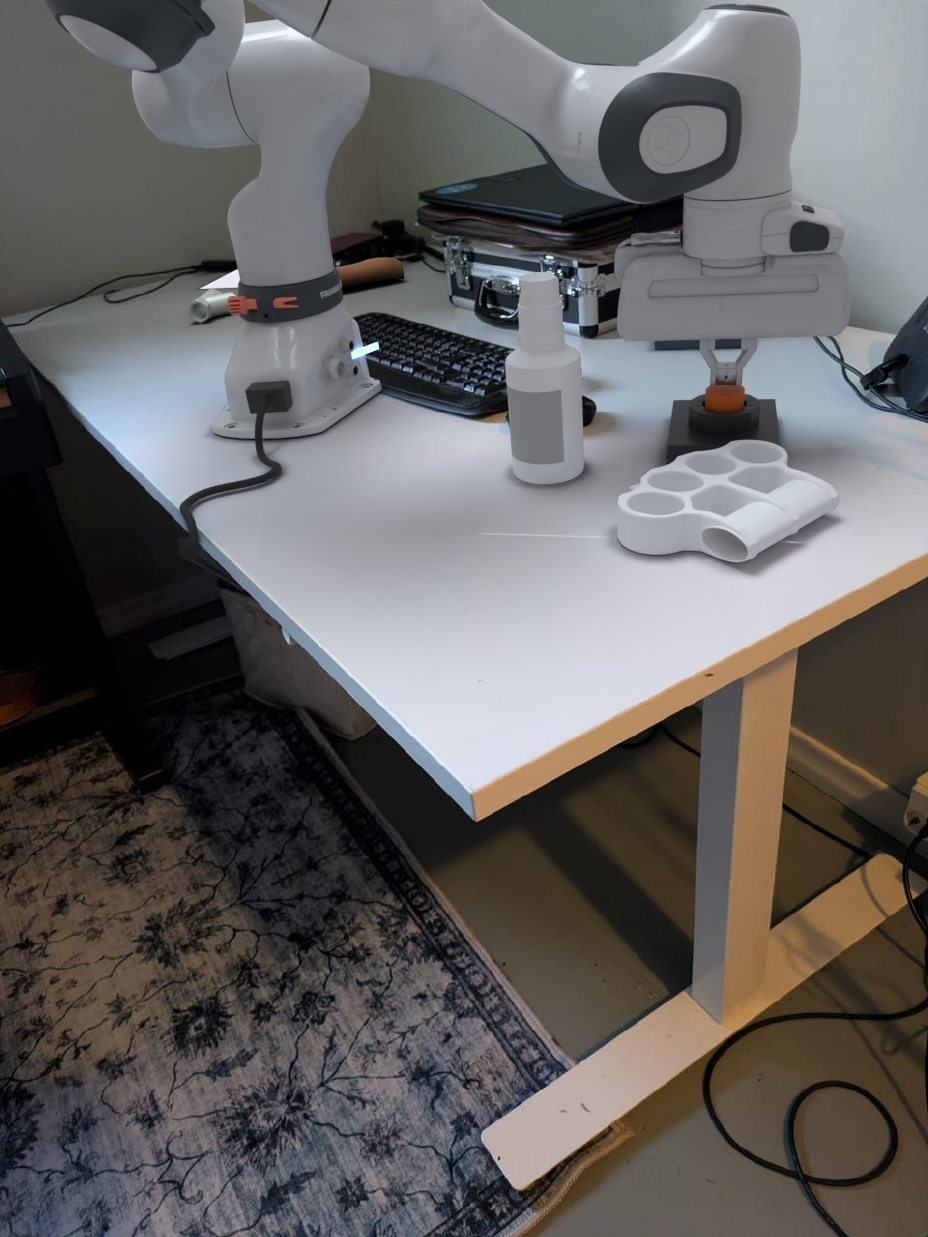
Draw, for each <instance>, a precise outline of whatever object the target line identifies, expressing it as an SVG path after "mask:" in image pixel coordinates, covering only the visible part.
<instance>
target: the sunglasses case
mask: <svg viewBox="0 0 928 1237" xmlns="http://www.w3.org/2000/svg"><path fill="white" fill-rule="evenodd" d="M335 267H336V266H335ZM336 268H337V269H338V272H339V277H340V279H341V283H342V288H344V287H350V286H351V287H352V286H357V285H363V284H366V283H370V282H371V283H373V282H378V281H382V280H389V279H392V278H396V279H398V280H403V281H405V270H404V266H403V264H402V262H401V261H400V260H399V259H398V258H395V257H385V256H384V257H375V258H369V259H365V260H362V261H360V262H357V263H353V264H347V265H343V266H337V267H336Z"/></svg>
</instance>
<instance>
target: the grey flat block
mask: <svg viewBox="0 0 928 1237" xmlns="http://www.w3.org/2000/svg"><path fill="white" fill-rule="evenodd" d="M734 348H735V349H738V348H740V349H741V339H715V349H734ZM690 349H691V350H699V349H700V340H667V341H654V350H655V351H658V350H690Z"/></svg>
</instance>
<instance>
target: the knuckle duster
mask: <svg viewBox="0 0 928 1237" xmlns="http://www.w3.org/2000/svg"><path fill="white" fill-rule="evenodd" d="M788 460H789V455H788V452H787V451H786V449H785V448H783V447H782V446H781V445H780V446H779V445H776V444H774V443H770V442H766V441H760V440H737V441H731V442H729V443H728V444H727V445H725V446H723V447H721V448H717V449H713V450H707V451H695V452H692V453H688V454H685V455H681V456H678V457H677V458H676V459H675V460H674V461H673V462H672V463H670V464H668V465H666V464H665V465H663V466H658V467H653V468H650V470H648V471H647V472H646V473H644V474H643V475H642V476H641V477H640V480H639V483H637V484H634V485H631V486H628V489H630V491H628V492H624V493H621V494H620V495H619V496H618V498H617V500H616V501H617V502H616V516H617V517H616V521H617V522H616V523H617V524H616V525H617V527H616V528H617V529H616V531H617V534H616V535H617V539H618V542H619V543H620V544H621V545H622V546H623V547H625V548H626V549H628V550H630V551H632V552H635V553H638V554H643V555H652V556H662V555H671V554H675V553H679V552H685V551H686V552H702V553H703V554H705V555H708V556H711V557H713V558H715V559H719V560H723V561H727V562H731V563H742V562H745V561H748V560H749V561H750V560H753V559H755V558H756V557H757V555H758V554H759V553H761V552H763V551H764V550H766V549H768V548H769V547H771V546H773V545H775V544H776V543H778V542H780V541H782V540H783V539H785V538H787V537H788V536H793V535H794V534H796V533H798V531H799V530H800V529H802V528H803V527H805V526H807V525H809V524H810V523H812V522H814V521H816V520H817V519H819V518H820V517H823V516H824V515H826V514H828V513H831V512H833V511H835V510H837V507H838V506H839V504H840V502H841V501H840V500H841V499H840V494H839V493H838V491H837V489H835V487H833V486H832V485H831V484H830V483H828V482H827V481H825V480H824V479H822V478H819V477H817V476H815V475H813V474H810V473H809V472H805V471H802V470H799V469H795V468H791V467H789V466H788Z"/></svg>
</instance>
